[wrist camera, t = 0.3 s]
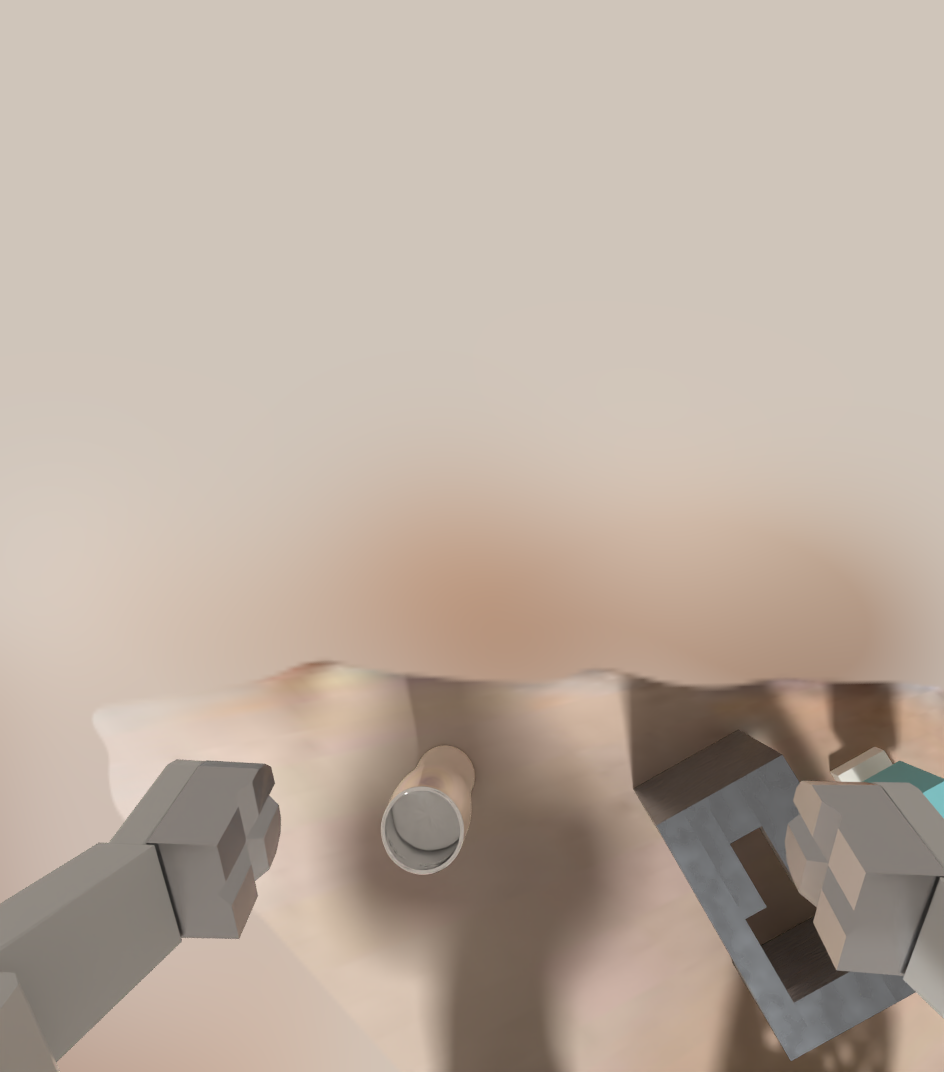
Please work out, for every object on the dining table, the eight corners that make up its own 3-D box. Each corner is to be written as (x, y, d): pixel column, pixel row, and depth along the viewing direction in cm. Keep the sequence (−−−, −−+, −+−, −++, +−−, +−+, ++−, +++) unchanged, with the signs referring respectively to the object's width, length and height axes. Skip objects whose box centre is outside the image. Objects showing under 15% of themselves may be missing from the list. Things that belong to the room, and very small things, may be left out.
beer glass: (411, 740, 62) (377, 784, 47) (478, 740, 62) (465, 783, 47) (412, 811, 61) (378, 877, 46) (480, 811, 61) (468, 878, 46)
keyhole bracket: (854, 920, 57) (924, 987, 47) (743, 981, 57) (790, 1061, 47) (738, 729, 60) (782, 754, 50) (633, 788, 60) (656, 825, 50)
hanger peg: (904, 793, 58) (984, 832, 48) (859, 818, 58) (929, 863, 48) (874, 746, 59) (947, 775, 49) (829, 771, 59) (893, 805, 49)
